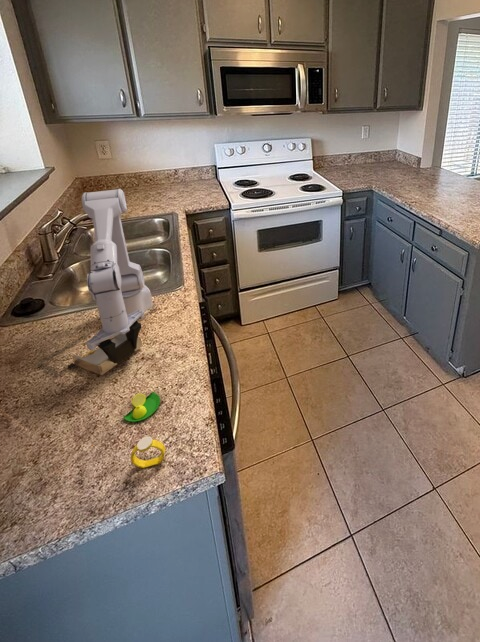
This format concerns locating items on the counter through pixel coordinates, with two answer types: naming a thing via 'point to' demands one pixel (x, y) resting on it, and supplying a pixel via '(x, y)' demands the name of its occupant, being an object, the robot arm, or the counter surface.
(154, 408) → the green plate with lemons
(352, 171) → the counter surface
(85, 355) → the key
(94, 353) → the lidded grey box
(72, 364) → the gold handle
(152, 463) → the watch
